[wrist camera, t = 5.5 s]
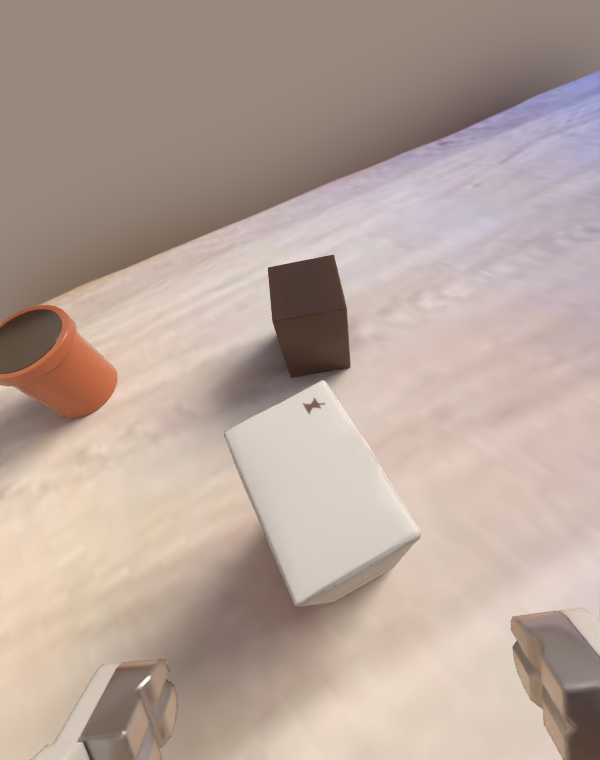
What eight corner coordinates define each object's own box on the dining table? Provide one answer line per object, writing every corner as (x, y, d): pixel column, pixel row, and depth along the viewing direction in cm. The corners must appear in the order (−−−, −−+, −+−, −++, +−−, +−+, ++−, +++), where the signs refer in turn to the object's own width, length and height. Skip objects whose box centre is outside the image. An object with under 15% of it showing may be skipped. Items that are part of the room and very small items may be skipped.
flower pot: (38, 429, 29) (-40, 387, 23) (58, 363, 32) (-5, 313, 27) (115, 416, 28) (54, 369, 23) (127, 350, 32) (77, 297, 26)
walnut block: (290, 377, 28) (272, 321, 22) (285, 328, 30) (267, 267, 25) (350, 367, 27) (346, 307, 22) (339, 318, 30) (333, 254, 25)
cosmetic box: (283, 506, 23) (218, 426, 13) (343, 473, 23) (325, 372, 13) (330, 609, 20) (291, 612, 9) (398, 569, 20) (430, 531, 10)
